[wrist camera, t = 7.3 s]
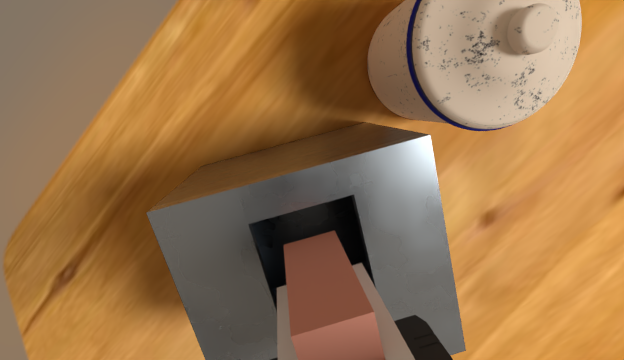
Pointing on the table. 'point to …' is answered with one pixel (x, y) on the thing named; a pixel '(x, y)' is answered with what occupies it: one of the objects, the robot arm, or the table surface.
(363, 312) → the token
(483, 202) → the table surface
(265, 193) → the grey hollow block
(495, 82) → the teacup with lid
